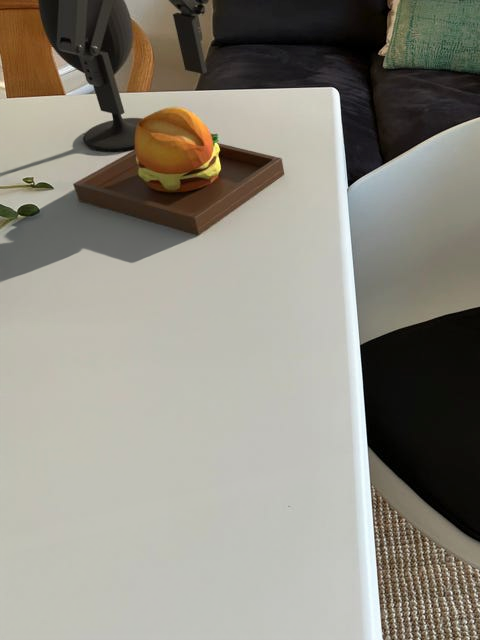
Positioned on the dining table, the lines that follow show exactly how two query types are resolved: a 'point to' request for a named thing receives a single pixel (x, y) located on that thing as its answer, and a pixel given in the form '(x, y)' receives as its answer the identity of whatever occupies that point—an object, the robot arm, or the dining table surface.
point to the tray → (181, 207)
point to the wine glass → (118, 47)
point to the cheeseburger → (176, 151)
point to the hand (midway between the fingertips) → (156, 90)
